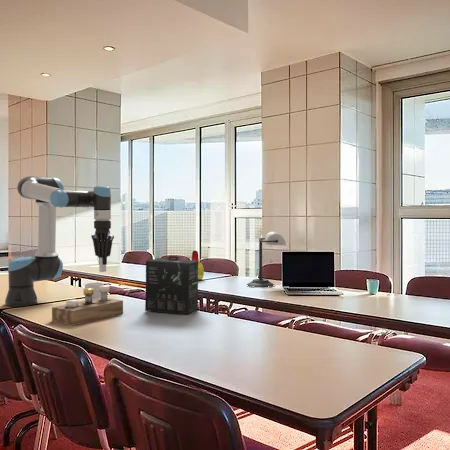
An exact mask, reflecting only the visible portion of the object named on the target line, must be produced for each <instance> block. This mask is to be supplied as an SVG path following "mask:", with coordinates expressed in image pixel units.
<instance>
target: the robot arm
mask: <svg viewBox="0 0 450 450" xmlns="http://www.w3.org/2000/svg"><path fill="white" fill-rule="evenodd" d="M17 183H18V184H17V187H16V189H17V193H18V195H20V197H22V198H24V199H28V200H35V204H36V205H37V207H38V218H37V219H38V222H37V223H38V229H37V231H38V233H37V237H38V239H37V252H36V253H35V254H34V257H33V256H21V257H16V258H12V259H11V260H10V261H8V268H7V272H8V291H7V293H6V297H5V301H4V303H5V304H4V305H5V306H6V305H7V306H6V307H26V306H28V307H29V306H32V305H36V304H38V297H37V293H36V291H35V288H34V283H35V282H42V281H43V282H44V281H52V280H56V279H59V277H60V276H61V274H62V272H63V269H64V268H63V267H64V264H63V261H62V259H61V257H59V253H57V252H56V243H57V242H56V239H57V238H56V237H57V235H56V232H57V228H56V227H57V208H93V220H94V221H93V228H94V230H95V232H94V234H91V235H90V237H91V239H92V243H93V249H94V250H93V251H94V256H96V257H97V258H98V265H99V270H98V271H99V273H104V272H107V264H108V257H110V256H111V253H112V246H113V241H114V238H115V236H114V235H112V234H111V228H112V221H111V220H112V212H111V211H112V209H111V207H112V199H111V197H112V194H111V187H109V186H107V185H106V186H105V185H104V186H103V185H97V186H96V185H95V186H94V187H93V190H69V189H68V190H66V189H65V188H64V185H63V182H62V181H61V180H60V179H59V178H57V177H52V176H33V175H31V176H30V175H29V176H25V177H23V178H21V179H20V180H19V181H18V182H17Z"/></svg>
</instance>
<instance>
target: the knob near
mask: <svg viewBox="0 0 450 450" xmlns="http://www.w3.org/2000/svg"><path fill="white" fill-rule="evenodd" d="M78 302H79V300H78V299H67V300H66V301H65V304H66V307H68V308H70V309H72V308H76V307H77V306H78Z"/></svg>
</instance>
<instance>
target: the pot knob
mask: <svg viewBox="0 0 450 450" xmlns="http://www.w3.org/2000/svg"><path fill="white" fill-rule="evenodd" d="M82 294H83V295H84V301H85V305H92V295H93V294H94V289H93V288H85V287H84V288H83V293H82Z"/></svg>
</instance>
